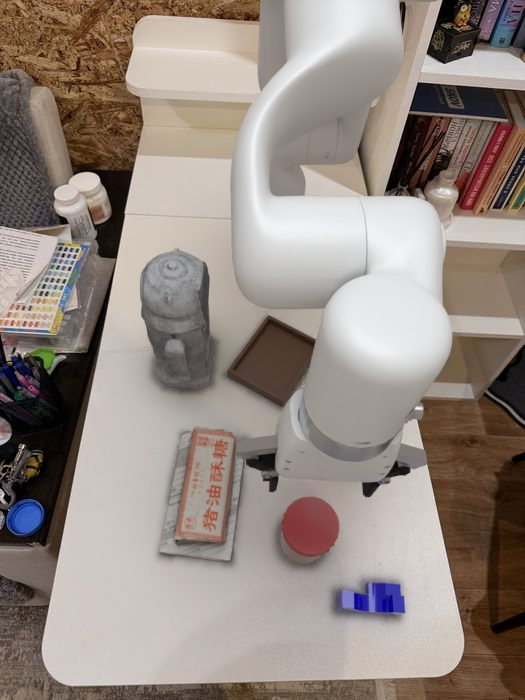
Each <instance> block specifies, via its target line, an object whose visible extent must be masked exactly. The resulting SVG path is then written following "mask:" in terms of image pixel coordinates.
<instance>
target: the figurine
mask: <svg viewBox="0 0 525 700" xmlns="http://www.w3.org/2000/svg"><path fill="white" fill-rule="evenodd" d="M210 282H211V281H210V273H209V268H208V265H207V263H206V262H205V261H204V260H202V259H200V258H198V257H196V256H194V255H193V254H190V253H189V252H186V251H182V250H180V249H179V248H177V247H175V248H173V250H171V251H166V252H163V253H160V254H157V255H156V256H154V257H152V258H151V259H150V260H149V261H148V262H147V263H146V265H145V266H144V268H143V269H142V271H141V273H140V277H139V295H140V296H139V298H140V302H141V309H140V317H141V318H142V320H143V321H144V324H145V329H146V334H147V338H148V341H149V343H150V345H151V347H152V350H153V355H154V356H155V359H156V364H155V368H154V373H155V376H156V378H157V379H158V381H159V382H160V383H161V384H162V385H164V387H167V388H180V389H181V388H182V389H201V388H203V387H206V386H208V385H211V377H212V367H213V357H214V350H215V348H214V347H215V340H214V337H213V336H212V335H211V327H210V325H211V324H210V323H211V321H210V304H209V299H210V297H209V296H210V285H211V284H210Z"/></svg>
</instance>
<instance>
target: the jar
mask: <svg viewBox="0 0 525 700" xmlns="http://www.w3.org/2000/svg"><path fill="white" fill-rule="evenodd" d="M279 545H280V549H281V551H282V552H283V554H284V555H285V557H286V558H287V559H288V560H289V561H291V562H293V563H295V564H298V565H309V564H312V563H314V562H315V561H318V559H319V558H320V557H321V555H320V556H316V557H306V556H302V555H299V554H298V553H296V552H295V551H292V549H291V548H290V547H289V545H287V543H286V541H285V539H284V536H283V532H282V530H281V531H280V534H279Z"/></svg>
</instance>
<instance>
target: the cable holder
mask: <svg viewBox="0 0 525 700" xmlns="http://www.w3.org/2000/svg"><path fill="white" fill-rule="evenodd" d="M365 588H366V589H365V591H366V592H365V593H366V594H364V593H359V592H355V591H354V590H347V589H342V590H340V591H337V592H336V610H337V611H346V612H355V613H356V612H357V613H367V614H380V615H387V616H388V615H389V616H399V615H403V614H406V605H405V595H402V589H401V584H399V583H388V582H366V584H365Z"/></svg>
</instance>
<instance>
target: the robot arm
mask: <svg viewBox="0 0 525 700" xmlns="http://www.w3.org/2000/svg"><path fill="white" fill-rule="evenodd" d="M437 1H438V0H259V24H258V45H257V47H258V49H257V83H258V87H259V90H260V92H259V94H258V95H257V96H256V98H255V99H254V101H253V103H252V104H251V105H250V106H249V107H248V109H247V111H246V113H245V117H244V119H243V121H242V123H241V125H240V128H239V130H238V133H237V136H236V140H235V144H234V147H233V152H232V157H231V166H230V176H229V177H230V178H229V179H230V180H229V182H230V183H229V186H230V187H229V188H230V231H231V232H230V233H231V234H230V235H231V256H232V266H233V273H234V278H235V282H236V284H237V287H238V289H239V291H240V293H241V294H242V295H243V297H244V298H245V299H246V300H247V301H248V302H250V303H251V304H253V305H255V306H257V307H259V308H263V309H268V310H319V309H321V310H323V312H322V315H321V319H320V321H319V326H318V330H317V335H316V338H315V339H316V342H315V346H314V350H313V354H312V358H311V362H310V365H309V366H308V371H307V376H306V379H305V383H304V388H302V387H301V388H298V389H297V390H295V392H294V393H292V394H291V395H290V396H289V397H290V398H289V397H288V399H287V401H286V402H285V404H284V405H283V408H282V410H281V412H280V415H279V418H278V420H277V423H276V429H275V434H272V435H263V436H255V437H250V438H246V439H242V440H237V441H236V450H235V455H236V456H238V457H239V458H241V459H242V460H244V461H245V465H246V466H247V467H248V468H251V469H255V470H257V471H260V472H261V473H260V476H261V478H262V482H269V483H268V492H269V493H275V492H277V488H278V485H279V479H280V478H279V477H282V478H285V479H292V480H293V479H294V480H307V481H324V482H343V483H344V482H347V483H348V482H349V483H361V488H362V496H363V497H365V498H371V497H372V496H373V495H374V494H375V492H376V491H377V490H378V489H379V487H380V486H381V485H389V484H391V483H392V482H391V481H392V480H391V478H396V477H400V476H403V477H404V476H405V477H406V476H407V475H409V474H411V470H416V469H418V468H421V467H424V466H427V465H428V458H427V457H428V456H427V451H426V450H425V449H422V448H419V447H416V446H412V445H409V444H405V443H402V439H403V433H404V426H405V424H408V422H412V421H413V420H422V419H423V417H424V411H425V409H424V408H425V407H424V403H423V402H422V401H421V400H422V399H423V398H424V396H425V395H426V393H427V392H428V390H430V388H431V386H432V385H433V383H434V382H435V380H436V379H437V377H438V376H439V374H441V371H443V369H444V367H445V365H446V363H447V361H448V359H449V357H450V354H451V350H452V346H453V327H452V322H451V319H450V317H449V314H448V312H447V310H446V308H445V307H444V302H443V301H444V300H443V299H444V298H443V297H444V296H443V295H444V294H443V293H444V292H443V290H444V289H443V276H444V275H443V273H444V272H443V271H444V262H445V258H446V252H447V232H446V229H445V227H444V224H443V223H442V222H441V219H440V215H439V213H438V211H437V210H436V208H435V207H434V205H433V204H432V203H430V202H429V201H427V200H426V199H423V198H420V197H415V196H411V195H410V196H407V195H359V196H358V195H354V194H353V195H306V189H307V188H306V187H307V181H306V176H305V173H304V170H303V168H302V167H301V166H331V165H333V166H334V165H335V166H336V165H343V164H347V163H348V162H350V161H352V160H353V158H355V156H356V154H357V152H358V149H359V147H360V144H361V141H362V138H363V134H364V131H365V127H366V125H367V121H368V118H369V115H370V112H371V108H372V105H373V102H374V101H375V100H377V99H378V98H379V97H381V95H383V94H384V93H385V92H386V91H387V90H388V89H389V88H390V87H391V86H392V85H393V83H394V82H395V80H396V79H397V77H398V76H399V73H400V72H401V69H402V66H403V62H404V56H405V43H404V36H403V35H404V33H403V26H402V17H401V16H402V15H401V9H400V2H404V3H405V2H406V3H407V2H408V3H410V2H411V3H435V2H437Z"/></svg>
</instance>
